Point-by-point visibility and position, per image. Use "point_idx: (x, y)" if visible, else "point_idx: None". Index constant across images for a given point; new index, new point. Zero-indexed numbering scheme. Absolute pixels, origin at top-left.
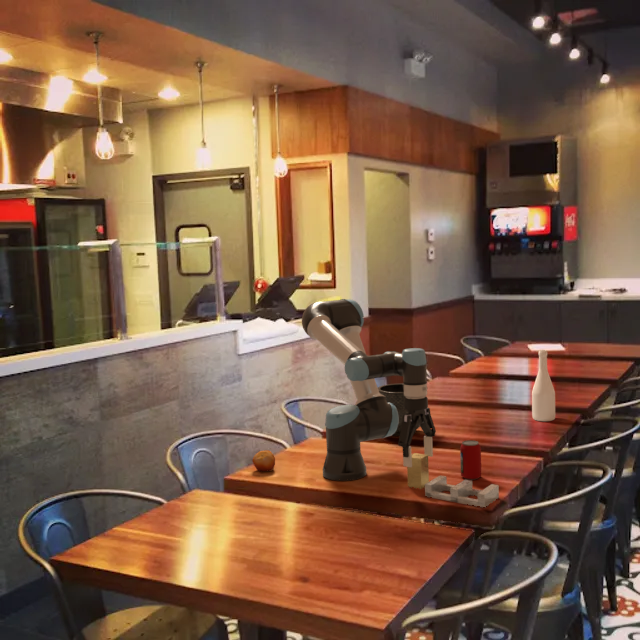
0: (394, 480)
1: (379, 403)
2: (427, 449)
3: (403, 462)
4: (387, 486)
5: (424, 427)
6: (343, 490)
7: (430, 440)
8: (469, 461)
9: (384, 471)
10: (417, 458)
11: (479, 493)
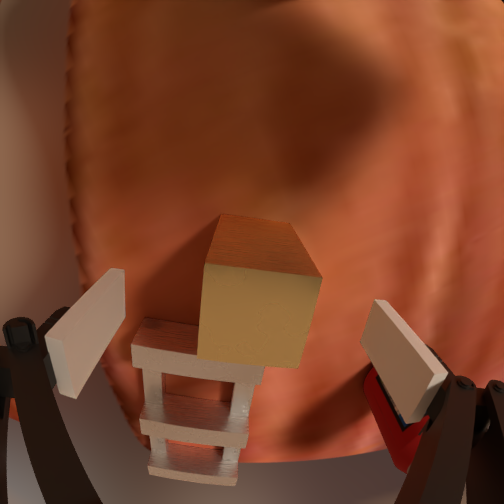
0: (283, 122)
1: None
2: (383, 341)
3: (101, 277)
4: (189, 127)
5: (411, 485)
6: (90, 9)
7: (398, 404)
8: (381, 427)
9: (382, 45)
10: (198, 340)
11: (150, 468)
